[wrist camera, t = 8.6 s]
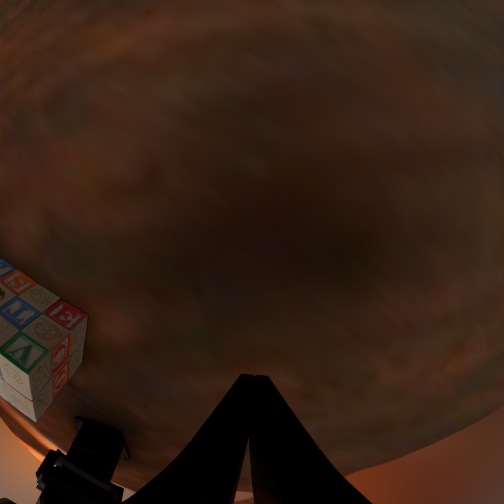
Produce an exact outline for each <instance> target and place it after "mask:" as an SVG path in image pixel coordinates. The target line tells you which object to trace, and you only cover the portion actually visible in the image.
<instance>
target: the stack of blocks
mask: <svg viewBox="0 0 504 504" xmlns="http://www.w3.org/2000/svg"><path fill="white" fill-rule="evenodd" d="M87 319H88V315H87V314H86V313H84V312H82V311H80V310H78V309H77V308H75V307H73V306H71V305H70V304H68V303H66V302H65V301H63V300H61V299H60V297H58V296H57V295H55V294H54V293H52V292H50V291H49V290H47V289H46V288H44V287H43V286H41V285H39V284H37V283H36V282H35V281H34V280H32V279H31V278H29V277H28V276H27V275H25V274H24V273H22V272H21V271H20V270H17V269H16V268H15V267H13V266H12V265H10V264H9V263H8V262H6V261H5V260H4V259H2V258H1V257H0V396H2V397H3V398H4V399H5V400H7V401H8V402H10V403H11V404H12V405H13V406H14V407H16V408H17V409H18V410H20V411H21V412H22V413H23V414H25V415H26V416H28V417H29V418H31V419H32V420H33V421H35V422H37V421H38V419H39V418H40V417H41V415H42V414H43V413H44V411H45V410H46V409H47V407H48V406H49V405H50V403H51V402H52V400H54V399H55V398H56V396H57V395H58V394H59V392H60V391H61V390H62V388H63V387H64V386H65V384H66V383H67V381H68V379H70V377H71V376H72V374H73V373H74V372H75V370H76V369H77V368H78V367H79V365H80V364H81V362H82V357H83V348H84V340H85V335H86V328H87Z"/></svg>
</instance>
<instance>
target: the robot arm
mask: <svg viewBox="0 0 504 504" xmlns="http://www.w3.org/2000/svg"><path fill="white" fill-rule="evenodd" d="M74 422H75V424H76V426H77V429H78V431H79V432H78V434H77V435H76V437H75V439H74V441H73V442H72V445H71V447H70V449H69V451H68V453H67V455H65V454H64V453H62V452H61V451H60V450H59V449H57V451H54V450H51V449H50V450H49V452H48V454H47V455H46V457H45V459H44V460H43V462H42V464H41V465H40V467H39V468H38V470H37V472H36V477H37V480H38V481H37V483H38V485H37V487H36V488H37V489H39V490H40V491H42V492H41V494H40V496H39V498H38V500H37V502H36V504H233V503H234V499H235V495H236V491H237V487H238V482H239V478H240V474H241V470H242V465H243V461H244V456H245V452H246V447H247V442H248V437H249V451H250V463H251V475H252V486H253V497H254V504H372V503H371V502H370V501H369V500H368V499H367V498H366V497H364V496H363V495H362V494H361V493H360V492H359V491H358V490H357V489H356V488H355V487H354V486H352V485H351V484H350V483H349V482H348V481H347V480H346V479H345V478H344V477H343V476H342V475H341V474H340V473H339V472H338V471H337V469H336V468H335V467H334V466H333V465H332V464H331V462H330V461H329V460H328V459H327V457H326V456H325V455H324V454H323V452H322V451H321V449H318V448H319V447H318V446H317V444H316V443H315V442H314V440H313V439H312V438H311V436H310V435H309V433H308V432H307V431H306V429H305V428H304V427H303V425H302V424H301V422H300V421H299V420H298V418H297V417H296V415H295V414H294V413H293V411H292V410H291V408H290V407H289V406H288V404H287V403H286V401H285V400H284V398H283V397H282V396H281V394H280V393H279V391H278V390H277V388H276V387H275V385H274V384H273V382H272V381H271V380H270V378H269V377H268V376H263V375H256V376H255V377H254V375H251V374H241V375H240V376H239V377H238V379H237V380H236V381H235V383H234V384H233V385H232V387H231V388H230V390H229V391H228V392H227V394H226V395H225V396H224V398H223V399H222V400H221V402H220V403H219V404H218V406H217V407H216V408H215V410H214V411H213V412H212V414H211V415H210V416H209V418H208V419H207V420H206V421H205V423H204V424H203V425H202V427H201V428H200V429H199V430H198V432H197V433H196V434H195V436H194V437H193V438H192V440H191V441H190V442H189V443H188V444H187V445H186V447H185V448H184V449H183V450H182V451H181V452H180V454H179V455H178V456H177V457H176V458H175V459H174V460H173V461H172V462H171V463H170V464H169V465H168V466H167V467H166V468H165V469H164V470H163V471H161V472H160V473H159V474H158V475H157V476H156V477H154V478H153V479H152V480H151V481H150V482H148V483H147V484H146V485H145V486H144V487H142V488H141V489H140V490H139V491H137V492H136V493H135V494H134V495H132V496H131V497H130V498H128V499H127V500H125V501H123V502H122V497H123V492H124V488H122V487H120V486H117V485H115V484H113V483H111V482H110V481H111V479H112V476H113V474H114V471H115V469H116V466H117V464H118V461H119V459H123V460H127V461H129V460H130V456H129V453H128V450H127V447H126V445H125V442H124V439H123V436H122V433H121V432H120V431H118V430H115V429H111V428H108V427H105V426H102V425H99V424H96V423H93V422H90V421H87V420H84V419H82V418H79V417H75V418H74ZM54 465H56V467H55V466H54ZM0 504H16V503H14V502H13V501H11V500H9V499H7V498H1V499H0Z"/></svg>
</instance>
